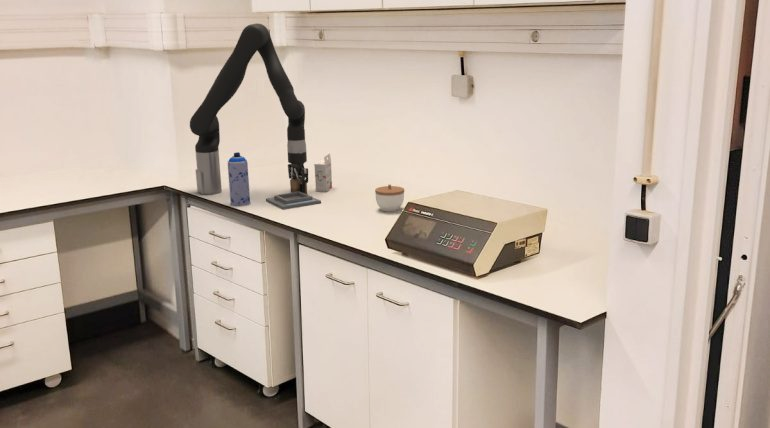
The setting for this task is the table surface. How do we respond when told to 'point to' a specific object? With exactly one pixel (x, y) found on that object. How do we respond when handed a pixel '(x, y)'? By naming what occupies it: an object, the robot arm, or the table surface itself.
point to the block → (296, 185)
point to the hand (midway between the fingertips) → (298, 191)
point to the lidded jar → (389, 197)
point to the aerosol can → (238, 180)
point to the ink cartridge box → (323, 174)
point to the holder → (292, 200)
